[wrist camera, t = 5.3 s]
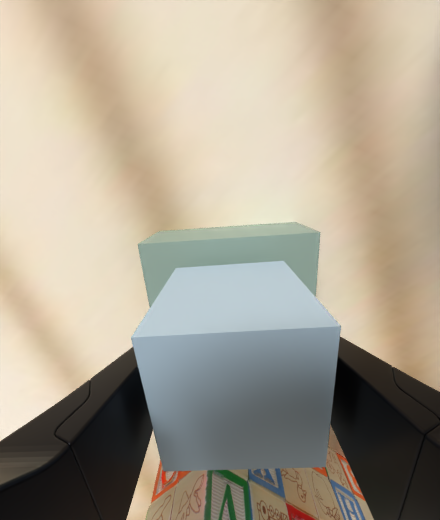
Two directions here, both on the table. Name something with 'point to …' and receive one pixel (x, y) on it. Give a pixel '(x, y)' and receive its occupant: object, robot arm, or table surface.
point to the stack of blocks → (260, 494)
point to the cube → (238, 369)
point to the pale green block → (229, 251)
